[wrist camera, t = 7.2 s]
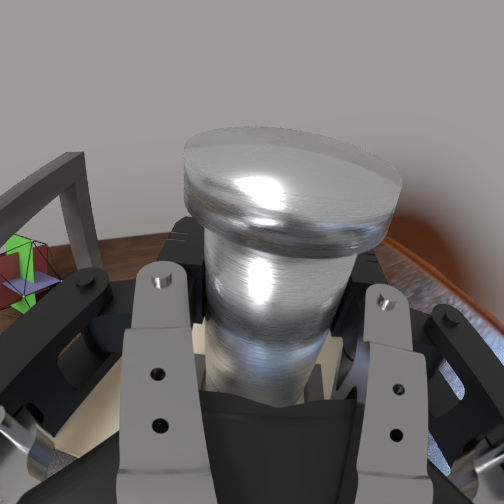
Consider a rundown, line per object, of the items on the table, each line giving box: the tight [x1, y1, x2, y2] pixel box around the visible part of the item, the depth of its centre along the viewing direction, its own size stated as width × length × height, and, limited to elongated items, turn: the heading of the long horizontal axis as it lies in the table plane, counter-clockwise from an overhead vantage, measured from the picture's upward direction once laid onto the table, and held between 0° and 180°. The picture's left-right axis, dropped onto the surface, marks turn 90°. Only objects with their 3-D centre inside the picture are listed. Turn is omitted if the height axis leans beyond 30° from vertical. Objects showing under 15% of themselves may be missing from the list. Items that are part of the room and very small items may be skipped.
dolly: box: [0, 152, 343, 458], centre depth 13 cm, size 20×12×13 cm, turn 87°
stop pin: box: [184, 127, 402, 407], centre depth 10 cm, size 5×5×10 cm
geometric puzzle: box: [0, 234, 62, 319], centre depth 19 cm, size 7×7×8 cm
